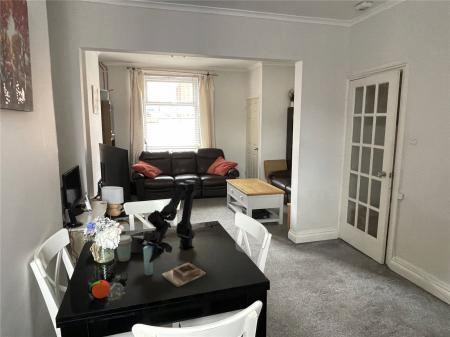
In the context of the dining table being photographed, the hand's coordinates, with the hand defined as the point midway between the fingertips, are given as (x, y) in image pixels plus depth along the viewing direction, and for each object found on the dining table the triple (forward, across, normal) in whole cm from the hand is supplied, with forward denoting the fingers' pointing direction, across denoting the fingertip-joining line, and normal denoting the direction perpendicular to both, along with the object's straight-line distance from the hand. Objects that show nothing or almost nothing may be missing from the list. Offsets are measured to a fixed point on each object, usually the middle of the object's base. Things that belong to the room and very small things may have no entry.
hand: (146, 261), depth 140 cm
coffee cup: (0, -22, +10) cm, 24 cm away
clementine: (+21, -5, -12) cm, 25 cm away
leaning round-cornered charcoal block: (-9, -18, +19) cm, 28 cm away
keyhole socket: (0, +16, +10) cm, 19 cm away
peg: (+4, 0, +6) cm, 7 cm away
